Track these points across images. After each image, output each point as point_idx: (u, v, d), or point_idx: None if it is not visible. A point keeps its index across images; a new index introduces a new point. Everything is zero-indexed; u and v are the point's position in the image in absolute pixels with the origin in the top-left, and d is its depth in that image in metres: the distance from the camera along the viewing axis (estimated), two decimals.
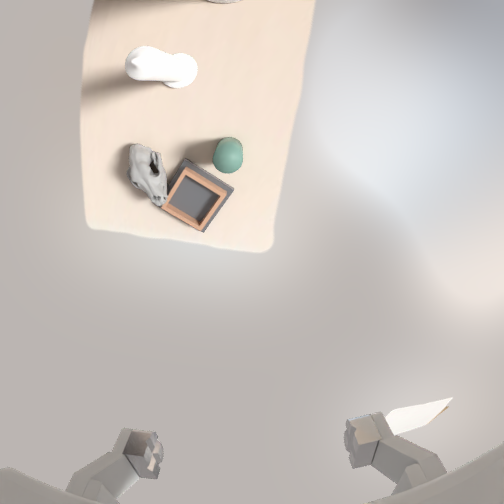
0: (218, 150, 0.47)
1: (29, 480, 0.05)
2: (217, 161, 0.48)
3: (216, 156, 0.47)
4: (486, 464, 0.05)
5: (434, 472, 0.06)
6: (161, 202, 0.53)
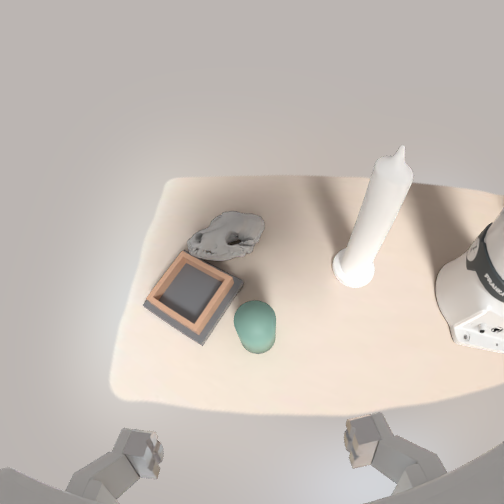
0: (267, 306, 0.35)
1: (29, 480, 0.05)
2: (250, 307, 0.35)
3: (258, 304, 0.35)
4: (486, 464, 0.05)
5: (434, 472, 0.06)
6: (192, 244, 0.43)
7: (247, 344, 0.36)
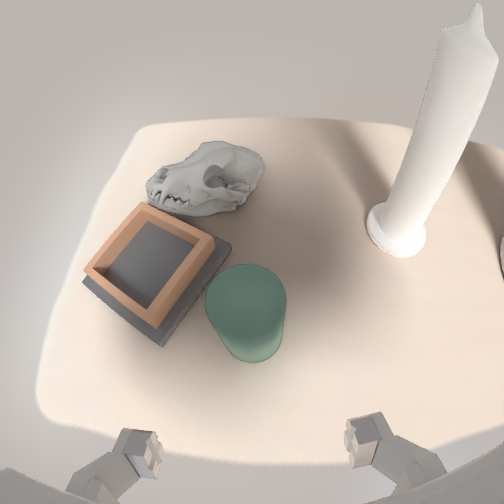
0: (268, 275, 0.19)
1: (29, 480, 0.05)
2: (237, 275, 0.19)
3: (253, 271, 0.19)
4: (486, 464, 0.05)
5: (434, 472, 0.06)
6: (152, 185, 0.26)
7: (232, 347, 0.20)
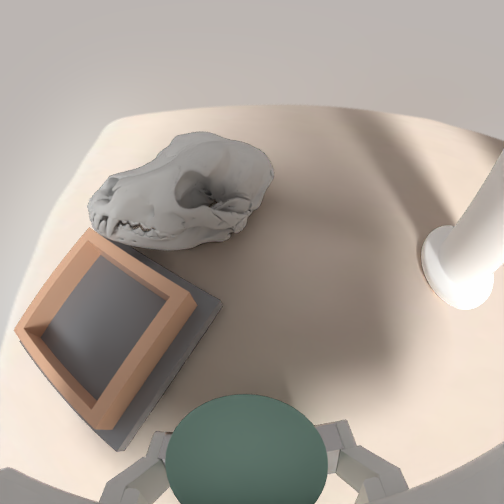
0: (294, 420, 0.08)
1: (29, 480, 0.05)
2: (227, 420, 0.08)
3: (261, 411, 0.08)
4: (486, 464, 0.05)
5: (395, 487, 0.06)
6: (93, 207, 0.15)
7: None
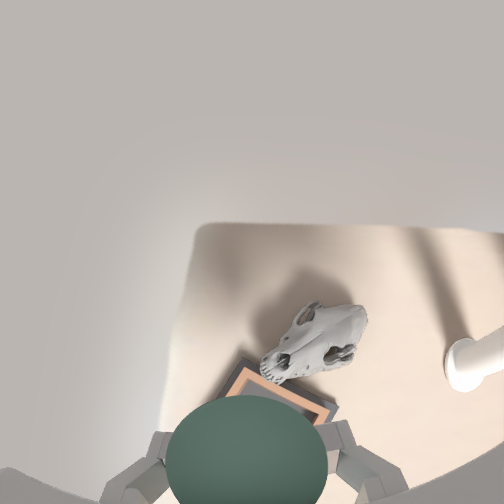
0: (294, 420, 0.08)
1: (29, 480, 0.05)
2: (227, 421, 0.08)
3: (261, 412, 0.08)
4: (486, 464, 0.05)
5: (394, 487, 0.06)
6: (271, 372, 0.24)
7: None
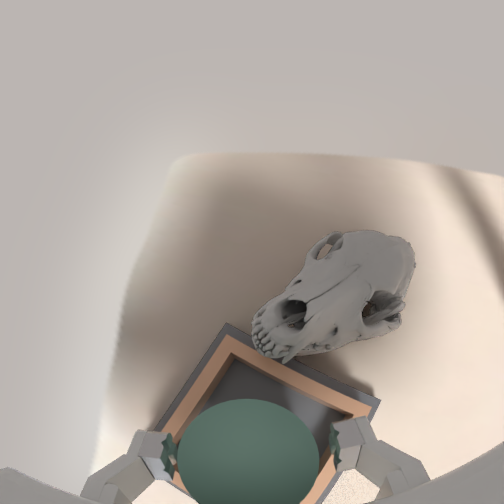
0: (289, 421, 0.09)
1: (29, 480, 0.05)
2: (231, 421, 0.09)
3: (260, 413, 0.09)
4: (486, 464, 0.05)
5: (417, 479, 0.06)
6: (272, 336, 0.13)
7: None
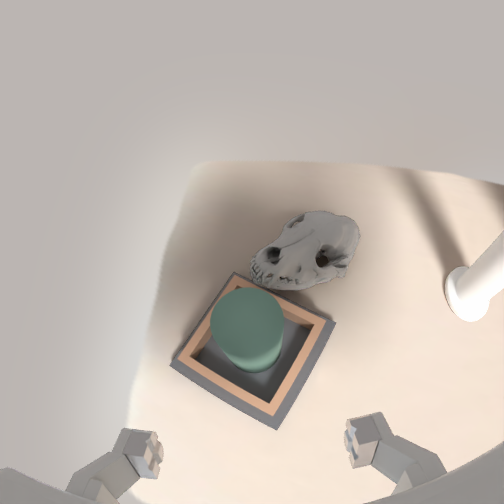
0: (268, 298, 0.20)
1: (29, 480, 0.05)
2: (239, 298, 0.20)
3: (254, 294, 0.20)
4: (486, 464, 0.05)
5: (434, 472, 0.06)
6: (261, 267, 0.25)
7: (235, 361, 0.21)
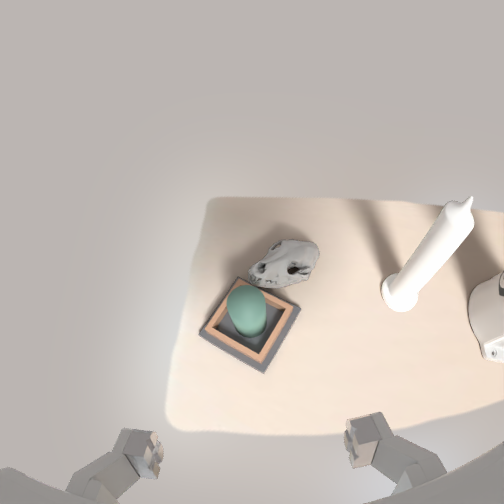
0: (257, 291, 0.38)
1: (29, 480, 0.05)
2: (242, 291, 0.38)
3: (250, 288, 0.38)
4: (486, 464, 0.05)
5: (434, 472, 0.06)
6: (254, 274, 0.43)
7: (239, 326, 0.39)
